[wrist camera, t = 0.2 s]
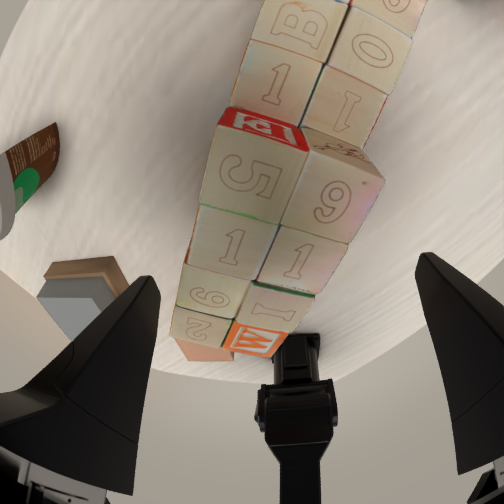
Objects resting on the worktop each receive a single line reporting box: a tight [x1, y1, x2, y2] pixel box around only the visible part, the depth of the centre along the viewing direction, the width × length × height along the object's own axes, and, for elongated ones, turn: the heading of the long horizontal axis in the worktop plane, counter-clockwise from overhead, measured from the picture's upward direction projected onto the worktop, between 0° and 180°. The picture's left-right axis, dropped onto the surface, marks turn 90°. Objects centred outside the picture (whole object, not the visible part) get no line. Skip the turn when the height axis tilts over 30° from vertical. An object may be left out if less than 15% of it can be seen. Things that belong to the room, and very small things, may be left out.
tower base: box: [43, 256, 129, 298], centre depth 31 cm, size 10×10×3 cm
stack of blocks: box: [170, 0, 427, 358], centre depth 14 cm, size 21×6×12 cm, turn 162°
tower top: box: [36, 276, 116, 341], centre depth 28 cm, size 9×9×3 cm
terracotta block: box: [174, 338, 234, 361], centre depth 29 cm, size 5×5×6 cm
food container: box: [0, 122, 60, 240], centre depth 17 cm, size 12×6×10 cm, turn 99°
